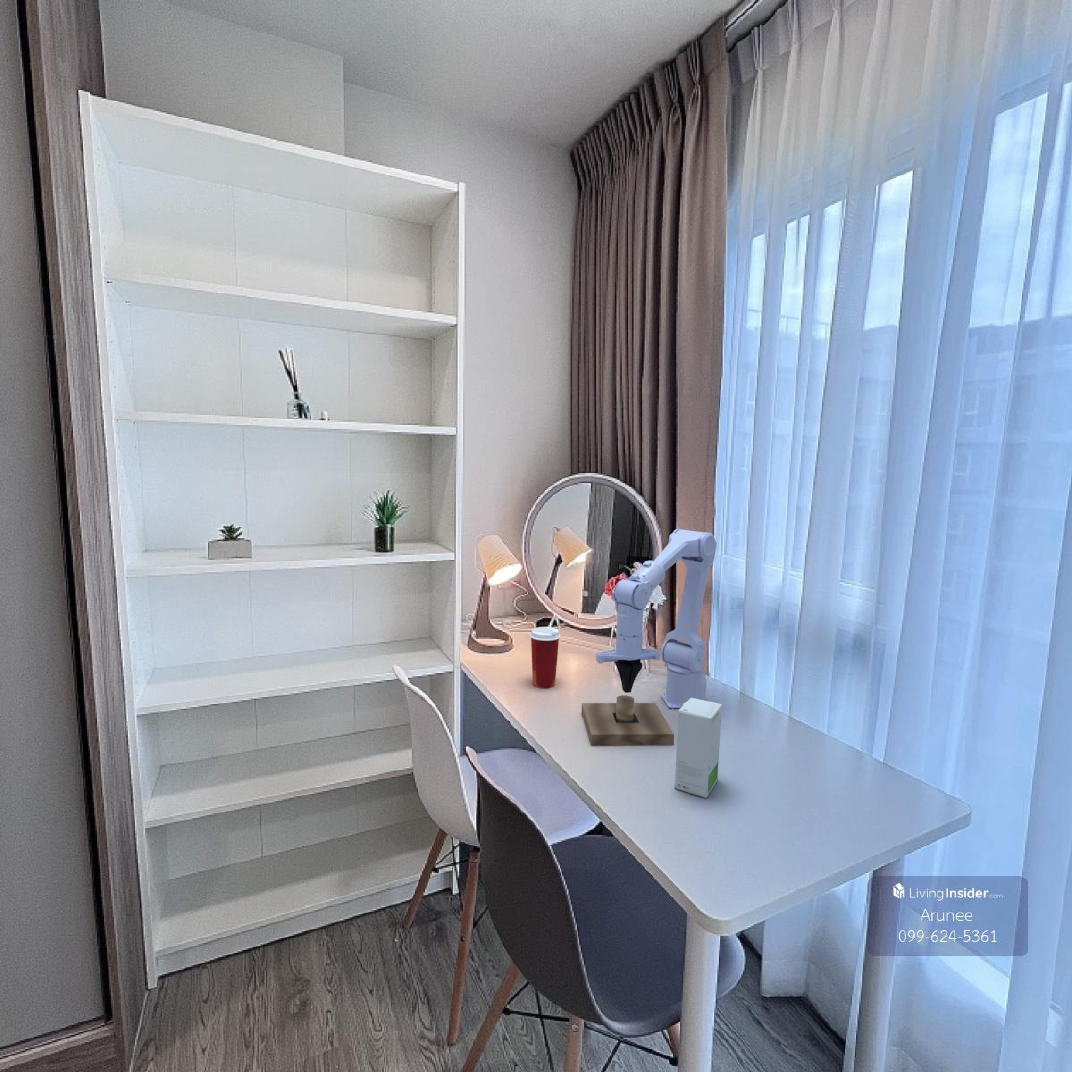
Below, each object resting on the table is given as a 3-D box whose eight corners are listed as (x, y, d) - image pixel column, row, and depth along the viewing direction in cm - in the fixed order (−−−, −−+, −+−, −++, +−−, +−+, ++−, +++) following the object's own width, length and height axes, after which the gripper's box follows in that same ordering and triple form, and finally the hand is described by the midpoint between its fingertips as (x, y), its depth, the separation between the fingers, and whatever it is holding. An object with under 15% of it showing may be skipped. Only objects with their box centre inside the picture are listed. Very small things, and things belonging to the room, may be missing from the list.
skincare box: (706, 799, 108) (711, 719, 106) (671, 788, 112) (676, 710, 110) (718, 778, 116) (724, 703, 113) (685, 768, 119) (690, 695, 117)
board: (654, 712, 144) (655, 702, 144) (673, 744, 129) (674, 734, 128) (581, 712, 143) (581, 703, 143) (591, 745, 127) (591, 734, 127)
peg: (629, 723, 138) (630, 694, 138) (636, 731, 134) (637, 701, 134) (612, 724, 138) (613, 695, 137) (619, 732, 134) (620, 703, 133)
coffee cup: (565, 684, 161) (566, 630, 159) (544, 692, 155) (546, 637, 153) (542, 675, 166) (543, 624, 164) (522, 683, 160) (523, 630, 158)
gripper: (652, 626, 138) (649, 682, 140) (592, 629, 135) (590, 686, 137) (665, 636, 131) (661, 694, 133) (603, 639, 128) (600, 698, 130)
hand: (626, 691), depth 135 cm, fingers closed
